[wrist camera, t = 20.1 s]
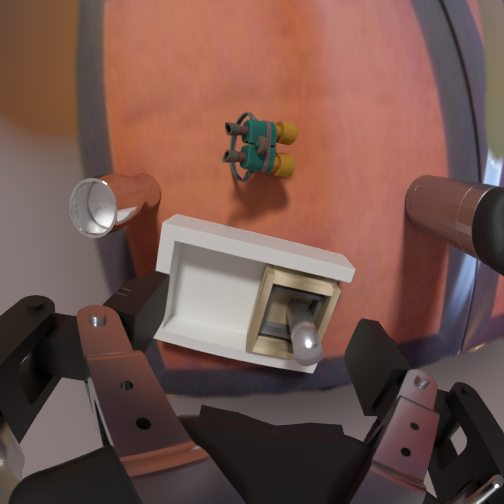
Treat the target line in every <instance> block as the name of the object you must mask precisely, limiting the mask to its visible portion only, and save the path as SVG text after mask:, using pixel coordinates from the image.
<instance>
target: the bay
mask: <svg viewBox="0 0 504 504" xmlns="http://www.w3.org/2000/svg"><path fill="white" fill-rule="evenodd" d="M265 263H269V264H273V265H278V266H282V267H286V268H290V269H294V270H299V271H303V272H307V273H311V274H315V275H320V276H324V277H328V278H332V279H334V280H335V282H336V284H337V283H338V280H341V281H345V282H349V283H351V280H352V278H353V275H354V272H355V268H354V267H353V266H352V265H351V263H350V262H349V261H348V260H347V259H346V258H345V256H344V255H342V254H338V253H334V252H330V251H326V250H322V249H319V248H315V247H311V246H307V245H303V244H299V243H295V242H291V241H287V240H283V239H279V238H275V237H271V236H267V235H263V234H259V233H255V232H251V231H246V230H242V229H238V228H234V227H230V226H226V225H221V224H217V223H213V222H209V221H205V220H200V219H196V218H192V217H187V216H183V215H179V214H175V215H174V216H172V217H171V218H169V219H167V220H166V221H164V222H163V224H162V230H161V236H160V243H159V250H158V257H157V264H156V271H159V272H163V273H167V274H169V275H170V282H169V289H168V297H167V304H166V311H165V316H164V319H163V322H162V324H161V325H160V327H159V329H158V331H157V332H156V334H155V336H154V338H155V339H158V340H162V341H165V342H169V343H172V344H176V345H179V346H183V347H187V348H190V349H194V350H198V351H202V352H206V353H210V354H214V355H219V356H223V357H227V358H232V359H236V360H241V361H246V362H251V363H256V364H261V365H266V366H271V367H277V368H283V369H288V370H294V371H301V372H307V373H313V372H314V370H315V368H316V365H317V363H316V364H314V365H311V366H302V365H300V364H298V363H297V362H296V361H295V360H293V359H287V358H282V357H276V356H271V355H266V354H261V353H256V352H251V351H246V338H247V328H248V324H249V321H250V317H251V314H252V310H253V307H254V303H255V299H256V296H257V292H258V289H259V285H260V281H261V278H262V274H263V270H264V267H265Z"/></svg>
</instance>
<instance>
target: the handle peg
mask: <svg viewBox="0 0 504 504" xmlns="http://www.w3.org/2000/svg"><path fill="white" fill-rule="evenodd" d="M286 309H287V315H288V321H289V327H290V333H291V340H292V346H293V352H294V358H295V361H296V362H297V363H298V364H300V365H302V366H311V365H314V364H316V363H318V362H319V361H320V360H321V359H322V357H323V349H322V346H321V343H320V339H319V336H318V333H317V330H316V327H315V323H314V320H313V317H312V314H311V311H310V308H309V305H308V302H307V301H306V300H305V299H303V298H294V299H292V300H291V301H289V303H288V304H287V308H286Z"/></svg>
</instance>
